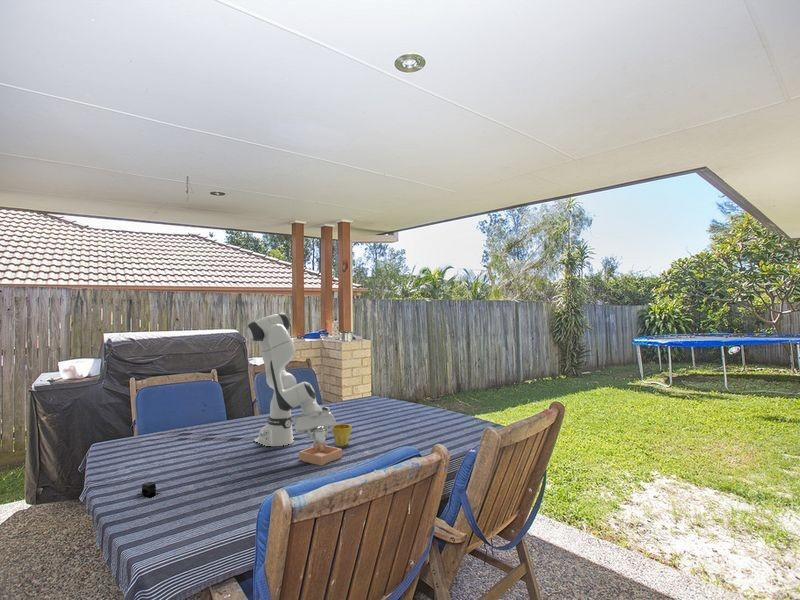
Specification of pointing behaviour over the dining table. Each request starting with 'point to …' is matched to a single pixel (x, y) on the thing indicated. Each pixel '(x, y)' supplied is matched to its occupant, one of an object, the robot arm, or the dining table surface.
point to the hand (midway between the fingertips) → (319, 437)
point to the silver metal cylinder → (319, 438)
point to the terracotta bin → (320, 455)
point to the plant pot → (341, 434)
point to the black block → (148, 490)
